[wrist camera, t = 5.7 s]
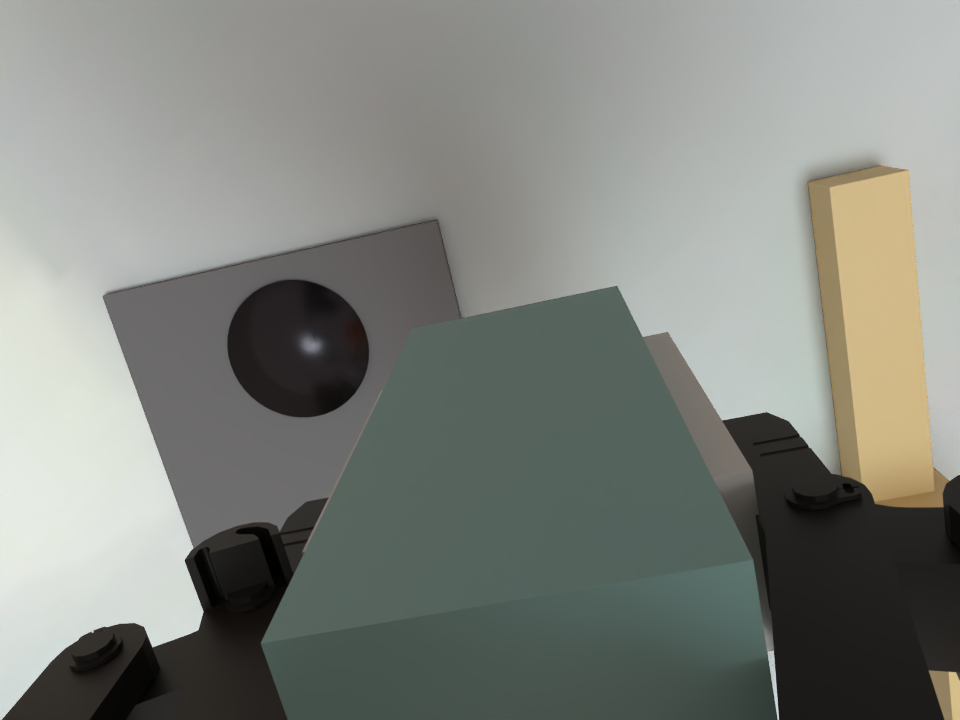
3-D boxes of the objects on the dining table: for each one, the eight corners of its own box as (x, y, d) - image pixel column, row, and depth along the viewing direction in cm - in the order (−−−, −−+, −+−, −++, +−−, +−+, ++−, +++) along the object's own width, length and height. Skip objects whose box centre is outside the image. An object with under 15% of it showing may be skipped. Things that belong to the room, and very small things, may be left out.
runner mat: (106, 294, 35) (102, 296, 35) (437, 219, 34) (436, 220, 33) (325, 901, 45) (324, 908, 44) (593, 864, 43) (593, 871, 43)
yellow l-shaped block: (936, 554, 37) (1101, 730, 27) (833, 571, 38) (955, 752, 27) (903, 160, 32) (1088, 186, 22) (786, 186, 33) (911, 223, 22)
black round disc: (213, 294, 35) (208, 297, 35) (349, 264, 34) (346, 266, 34) (255, 424, 37) (251, 429, 36) (386, 397, 36) (384, 402, 36)
